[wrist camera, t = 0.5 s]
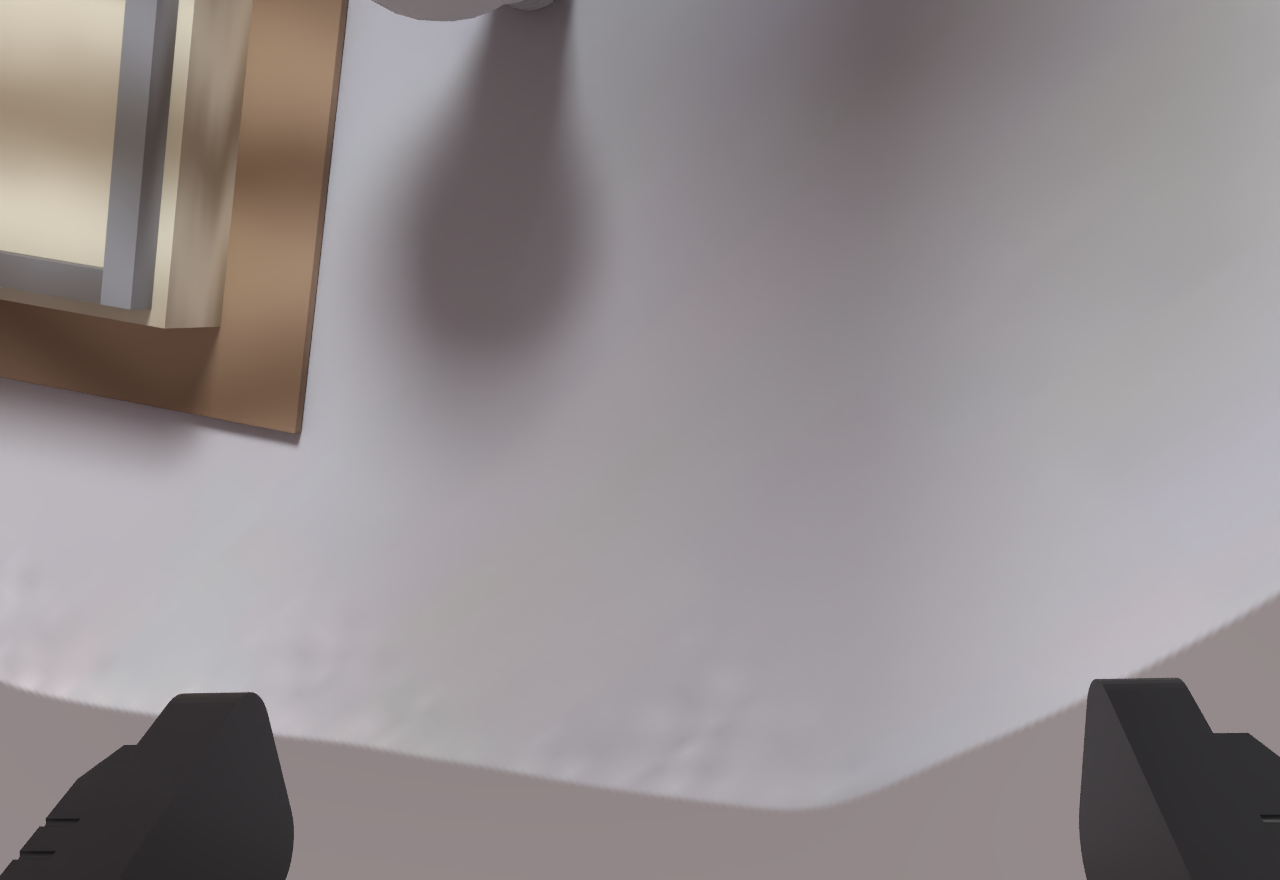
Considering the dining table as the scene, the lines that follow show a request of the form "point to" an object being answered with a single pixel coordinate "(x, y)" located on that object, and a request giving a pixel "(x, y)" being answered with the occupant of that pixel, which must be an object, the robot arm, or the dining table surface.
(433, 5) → the lightbulb
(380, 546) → the dining table surface
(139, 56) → the square tan tray
